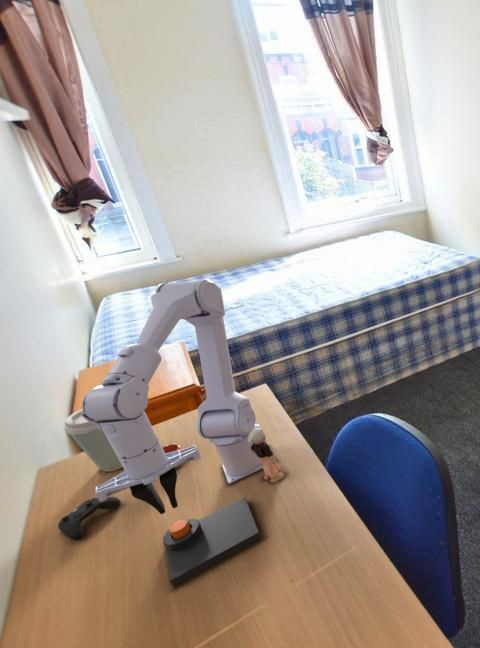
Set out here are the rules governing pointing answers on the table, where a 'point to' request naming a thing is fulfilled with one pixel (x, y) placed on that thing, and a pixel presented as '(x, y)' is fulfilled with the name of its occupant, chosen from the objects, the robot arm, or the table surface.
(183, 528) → the tare button
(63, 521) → the game controller
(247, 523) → the grey push button box
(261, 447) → the grandmother figurine
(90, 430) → the disposable coffee cup
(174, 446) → the dish
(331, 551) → the table surface
